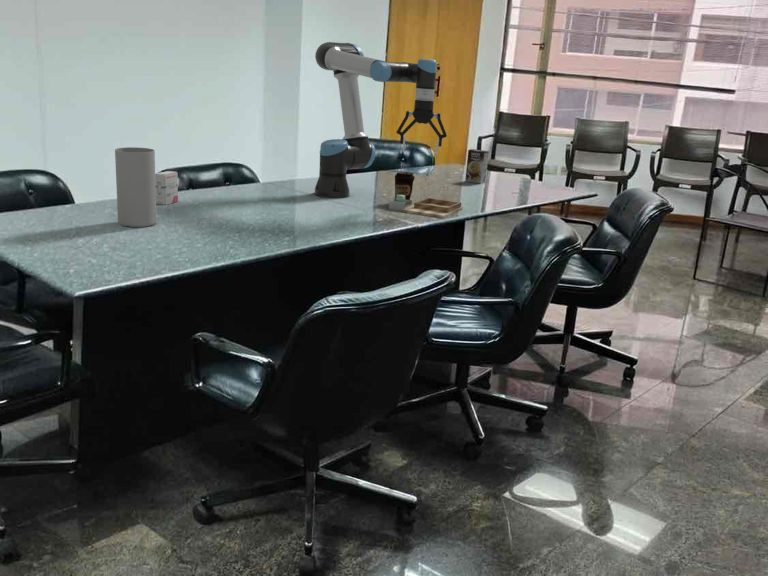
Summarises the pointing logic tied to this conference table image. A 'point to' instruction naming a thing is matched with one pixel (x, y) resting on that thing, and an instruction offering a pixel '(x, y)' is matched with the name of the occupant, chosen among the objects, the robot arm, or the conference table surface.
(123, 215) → the cylinder vase
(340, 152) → the robot arm
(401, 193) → the coffee cup
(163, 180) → the ink box
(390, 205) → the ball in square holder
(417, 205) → the tray
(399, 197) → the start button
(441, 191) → the conference table surface
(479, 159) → the coffee box
